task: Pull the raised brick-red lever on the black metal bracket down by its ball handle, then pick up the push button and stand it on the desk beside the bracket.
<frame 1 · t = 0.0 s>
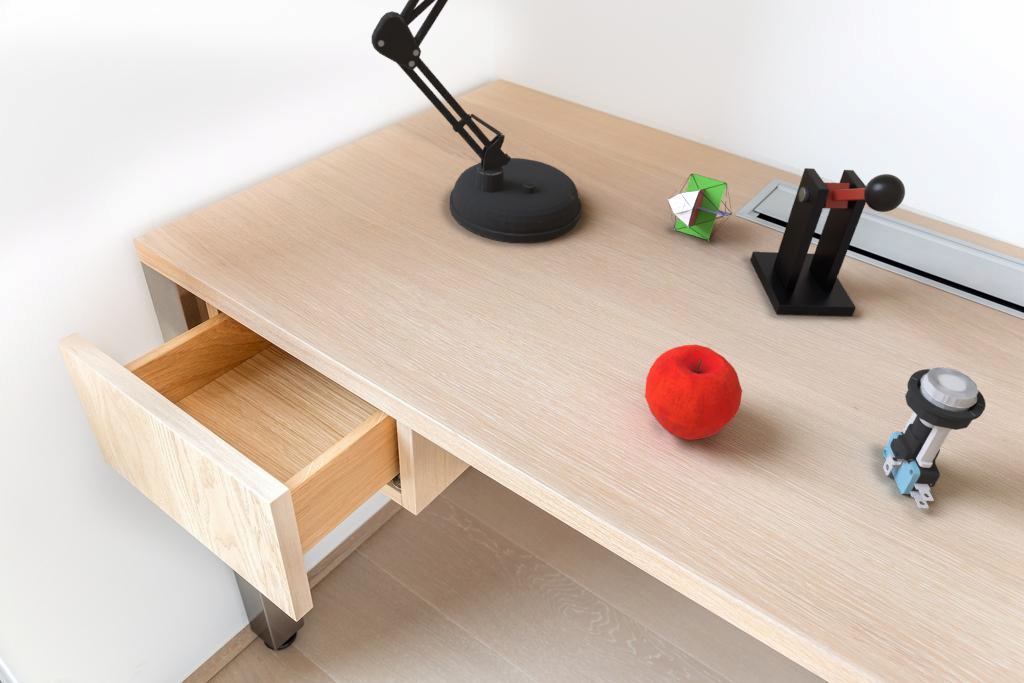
apple: (682, 425, 68), on the table
desk lamp: (522, 209, 95), on the table
bracket: (798, 287, 85), on the table
push button: (904, 481, 64), on the table
lever: (856, 194, 73), point 14 cm above the table, hinge at 30.0°
geometric puzzle: (694, 232, 93), on the table
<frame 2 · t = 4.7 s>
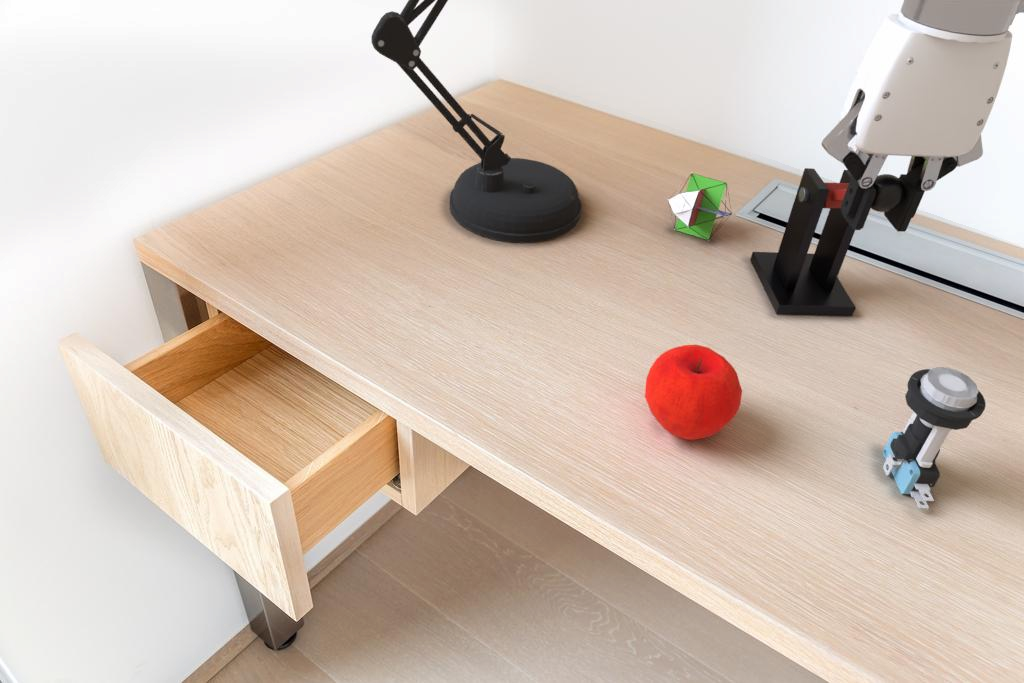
hand: (873, 221, 70), 13 cm above the table, tool pointing down, fingers closed on lever, 3 cm apart
lever: (856, 194, 73), point 14 cm above the table, hinge at 30.0°, touching gripper
everything else where it was.
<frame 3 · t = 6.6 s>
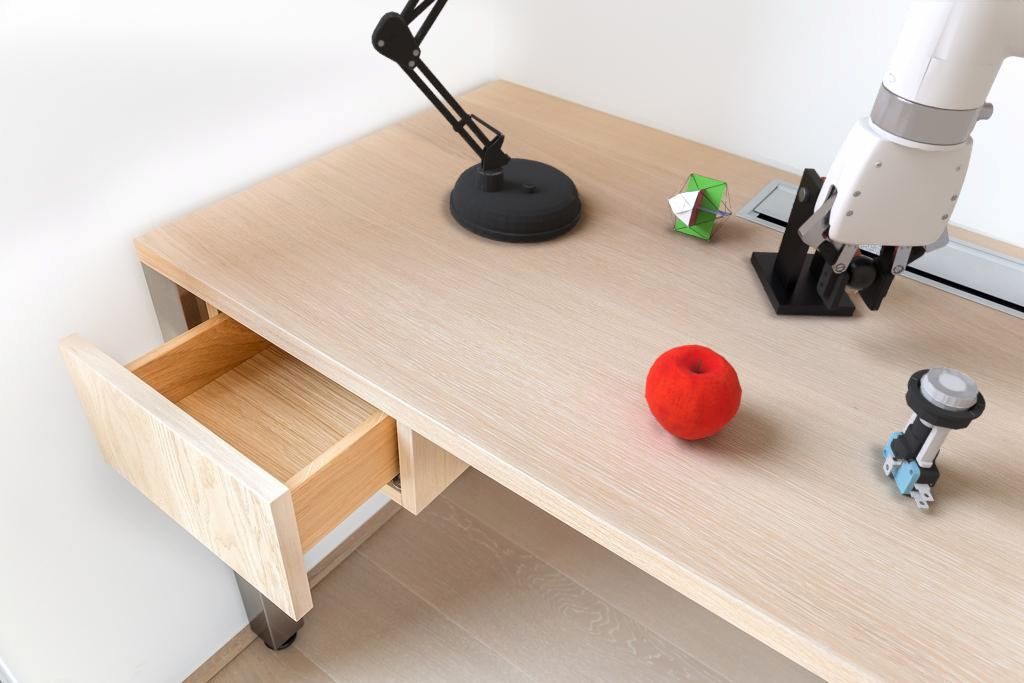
hand: (847, 300, 74), 5 cm above the table, tool pointing down, fingers closed on lever, 3 cm apart
lever: (844, 233, 75), point 10 cm above the table, hinge at -14.9°, touching gripper
everything else where it was.
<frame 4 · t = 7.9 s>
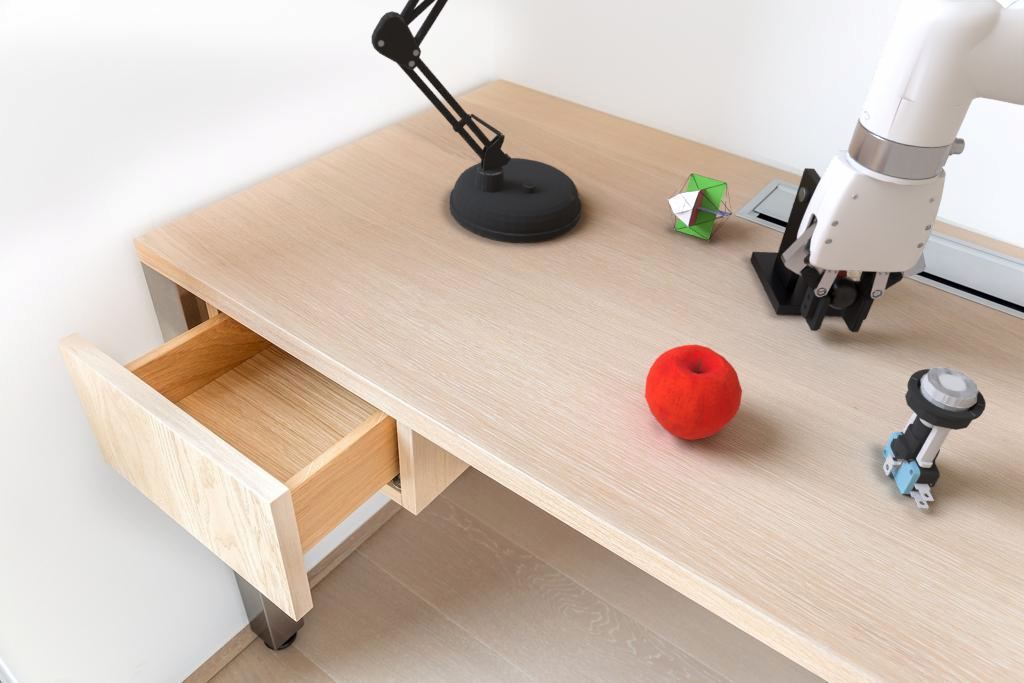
hand: (829, 321, 78), 2 cm above the table, tool pointing down, fingers closed on lever, 3 cm apart
lever: (836, 244, 77), point 8 cm above the table, hinge at -36.3°, touching gripper
everything else where it was.
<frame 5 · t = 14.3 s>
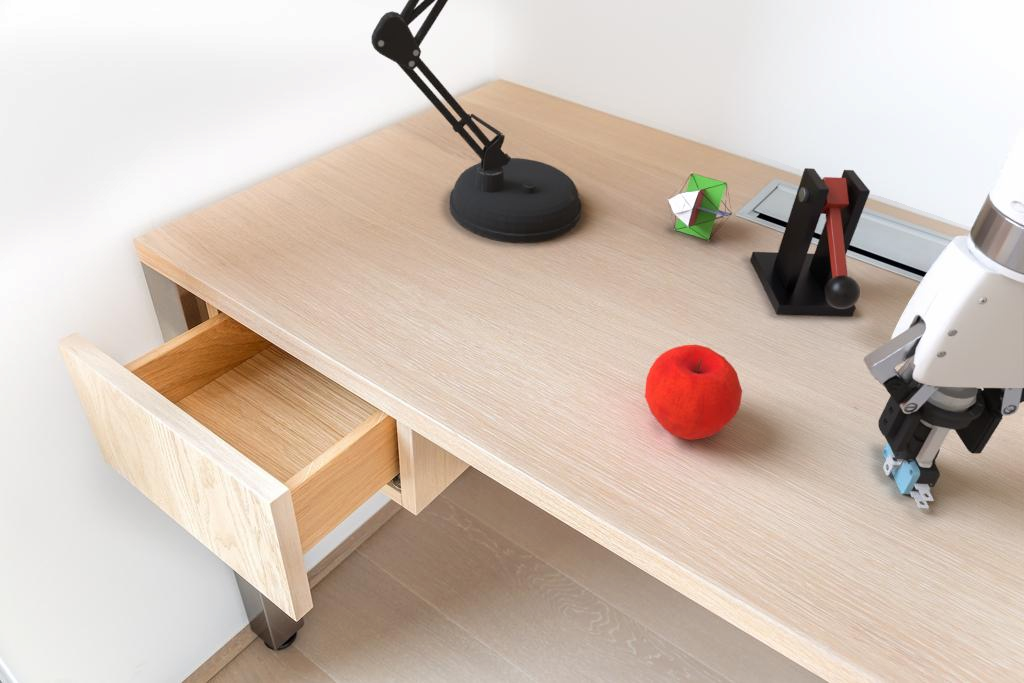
hand: (928, 438, 61), 5 cm above the table, tool pointing down, fingers closed on push button, 5 cm apart
push button: (904, 481, 64), on the table, touching gripper
lever: (836, 244, 77), point 8 cm above the table, hinge at -35.5°
everything else where it was.
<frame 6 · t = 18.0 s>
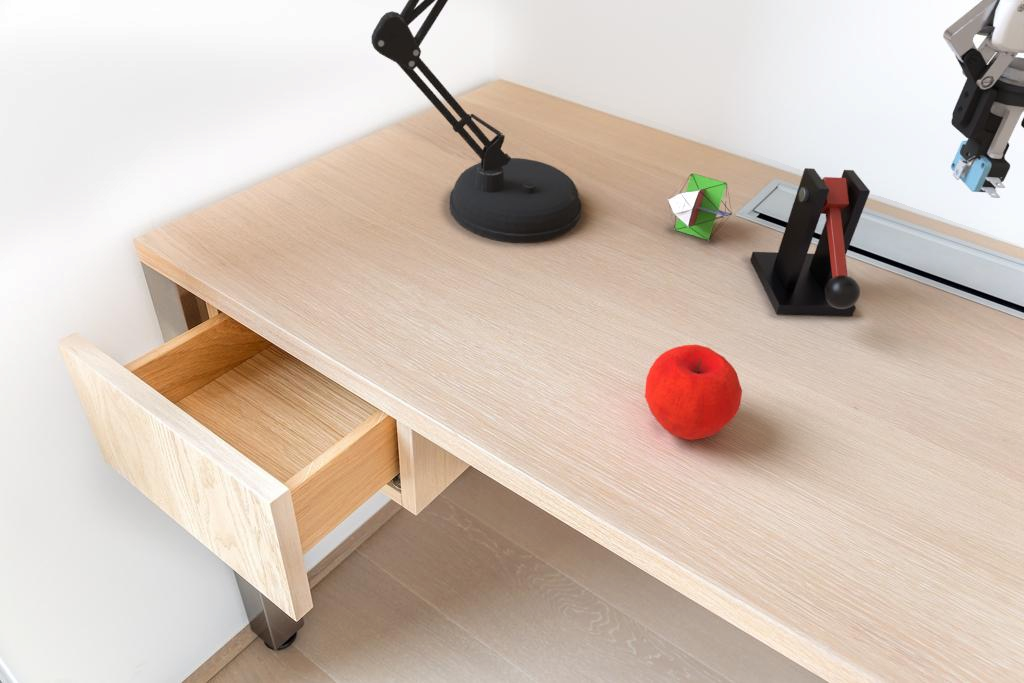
hand: (999, 130, 65), 22 cm above the table, tool pointing down, fingers closed on push button, 5 cm apart
push button: (973, 186, 68), point 17 cm above the table, touching gripper
everything else where it was.
when the fingers open (5 cm above the table, at t = 22.3 s): push button stays where it is, on the table.
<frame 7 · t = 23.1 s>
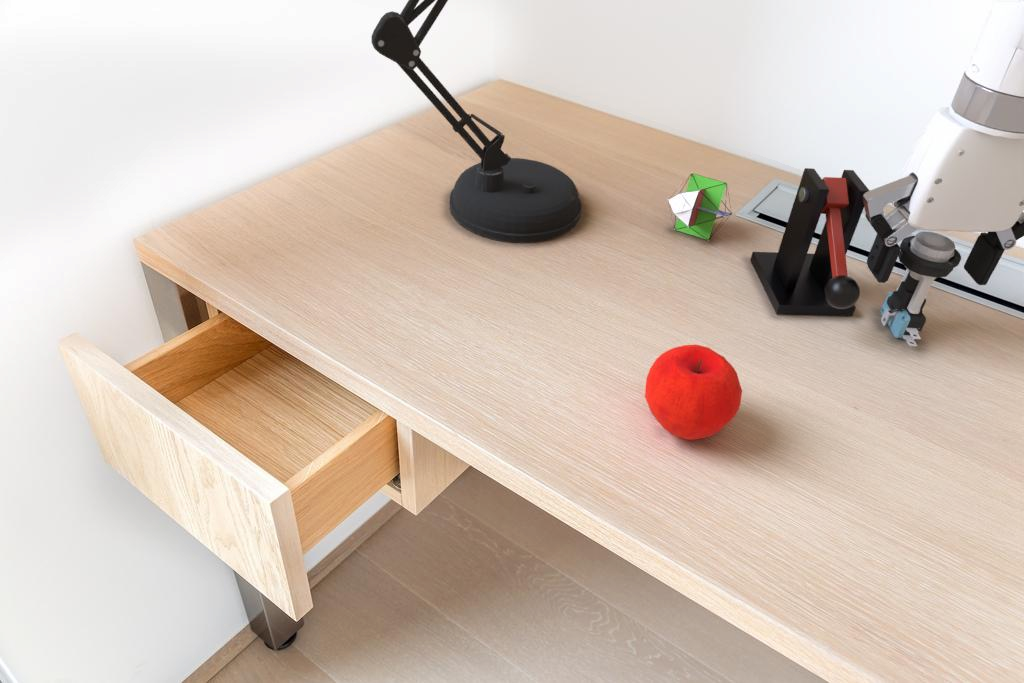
hand: (925, 275, 76), 7 cm above the table, tool pointing down, fingers open, 9 cm apart
push button: (897, 331, 80), on the table
everything else where it was.
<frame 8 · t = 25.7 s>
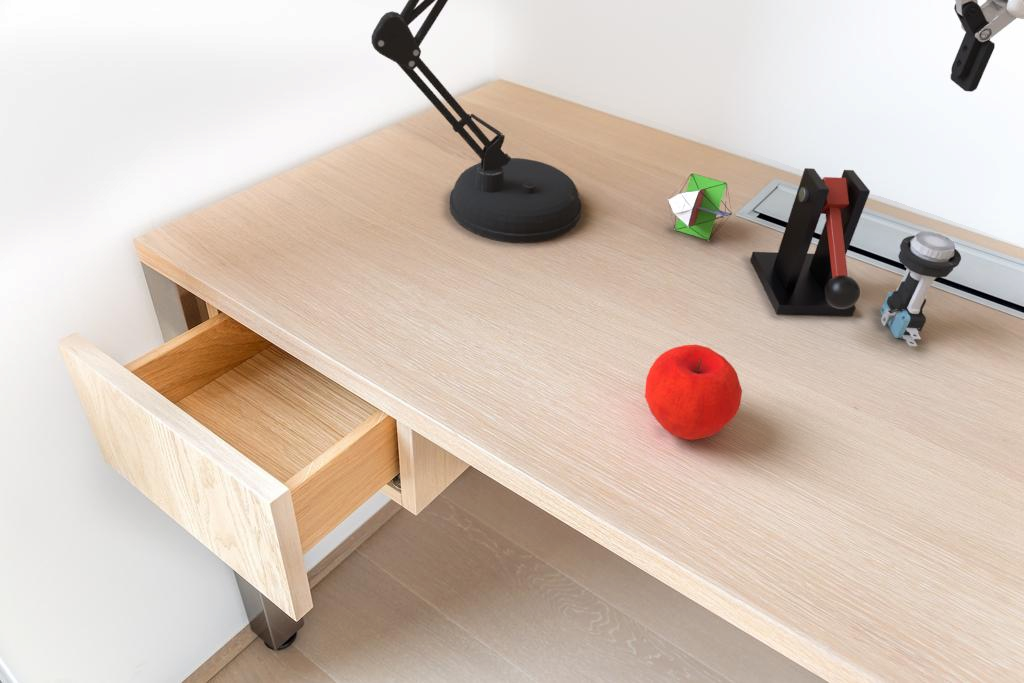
hand: (1017, 88, 67), 24 cm above the table, tool pointing down, fingers open, 9 cm apart
nothing on the table moved.
at the end: lever at -36° (first picture: +30°); push button inside the target area on the table beside the bracket (0.0 cm from its centre), on the table; push button tilted 0° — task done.
